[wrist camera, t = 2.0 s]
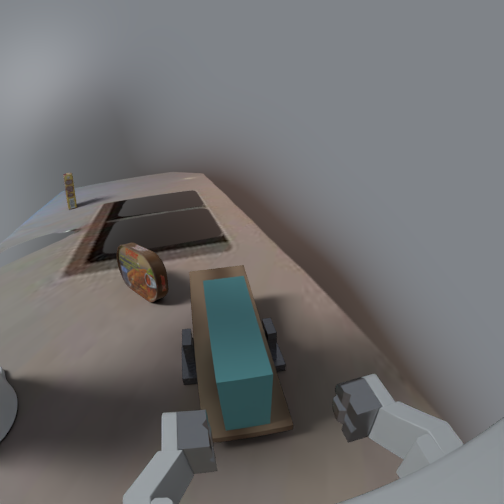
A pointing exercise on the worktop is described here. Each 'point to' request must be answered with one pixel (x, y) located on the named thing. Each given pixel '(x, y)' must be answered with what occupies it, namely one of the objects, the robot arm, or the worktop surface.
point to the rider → (238, 354)
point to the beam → (205, 365)
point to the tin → (142, 271)
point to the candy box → (70, 190)
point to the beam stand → (189, 352)
